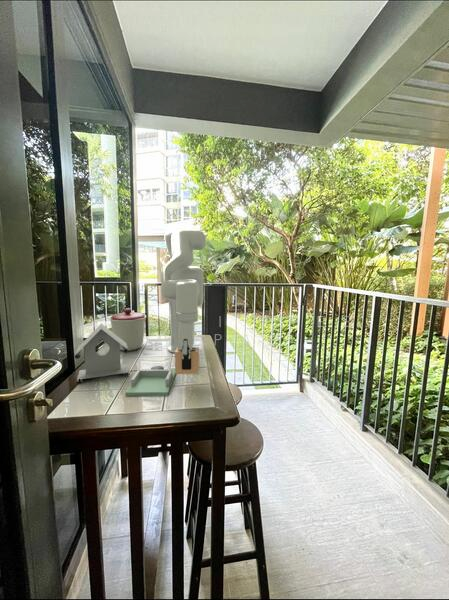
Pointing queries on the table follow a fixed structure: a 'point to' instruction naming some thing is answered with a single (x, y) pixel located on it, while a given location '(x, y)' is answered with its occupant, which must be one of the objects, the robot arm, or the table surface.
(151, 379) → the green walled tray
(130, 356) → the table surface
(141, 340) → the canister
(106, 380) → the table surface
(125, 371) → the grey nesting box
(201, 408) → the table surface
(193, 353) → the chute block
